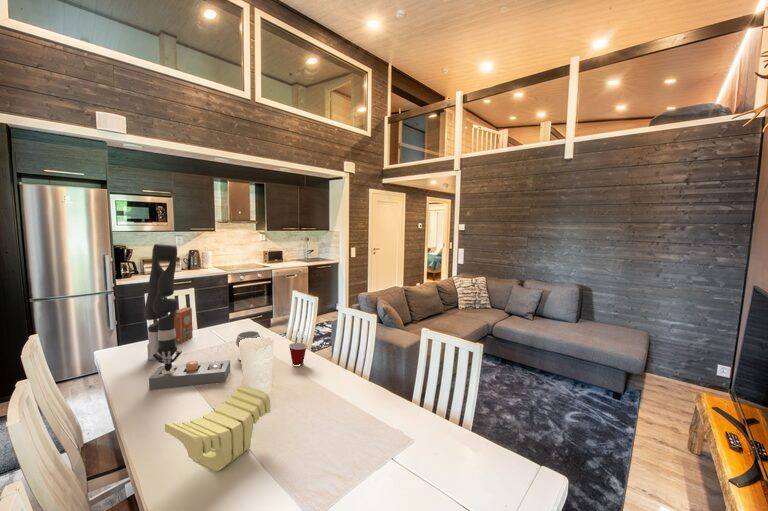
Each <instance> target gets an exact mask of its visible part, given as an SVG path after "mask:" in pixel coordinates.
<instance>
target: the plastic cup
mask: <svg viewBox="0 0 768 511" xmlns="http://www.w3.org/2000/svg"><path fill="white" fill-rule="evenodd" d="M288 348H289V351H290V357H291V362H292V365H293V364H294V365H299V364H302V363H303V364H304V360H305V356H306V351H307V348H308V344H306V343H304V342H292V343H290V344H288Z"/></svg>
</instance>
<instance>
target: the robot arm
mask: <svg viewBox="0 0 768 511" xmlns="http://www.w3.org/2000/svg"><path fill="white" fill-rule="evenodd" d="M177 258H178V247H177V245H176V244H169V243H155V244H154V245H153V247H152V254H151V269H150V275H149V280H148V288H147V295H146V301H145V305H144V309H143V316H144V318H145V320H147V321H154V320H156V321H155V322H154V323H151V324H150V325H148V327H147V334H148V336H147V337H148V343H147V360H148V361H157V362H159V364H164V365H165V370H166V371H169V370H170V369H171V368H172V365H173V364H172V363H174V362H175V361H176V360H177V359H178V358H179V357H180V355H181V354H182V352H183V351H182V350H179V349H178V347H177V343H176V332H175V314H176V311H177V310H178V307H179V301H178V300H177V299H176V298H174V297H173V298H172V297H171V298H168V297H170V296H173V294H174V292H175V274H176V273H175V272H176V268H177V267H176V266H177ZM161 261H162V262H163V261H164V262H169V264H168V266H167V267H166V269H165V270H164V269H163V268H162V266H161V263H160V262H161ZM168 313H169V314H168ZM173 356H174V357H173ZM164 365H163V366H164Z"/></svg>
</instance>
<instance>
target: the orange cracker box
mask: <svg viewBox="0 0 768 511" xmlns="http://www.w3.org/2000/svg"><path fill="white" fill-rule="evenodd" d="M175 332H176V344H183V343H185V342H186V341H188V340H189V339H191V338H193V335H194V334H193V309H192V307H182V308H180V309H177V311H176V314H175Z"/></svg>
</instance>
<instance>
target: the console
mask: <svg viewBox="0 0 768 511" xmlns="http://www.w3.org/2000/svg"><path fill="white" fill-rule="evenodd" d="M213 364H221V369H214V370H209V366H210V365H213ZM172 368H174V369H175V372H174V373H168V374H162V370H163V369H165V365H159V367H157V369H155V371H154V372H153V373H152V374H151V376H149V377H148V390H149V391H157V390H166V389H176V388H177V389H178V388H185V387H196V386H197V387H198V386H207V384H208V385H217V384H216V383H218V384H225V383H226V382H227V380H226V379H228V377H229V375H230V372H231V360H230V359H229V360H228V359H227V360H225V359H224V360H217V361H216V360H215V361H204V362H203V361H202V362H198V371H191V372H186V363H180V364H176V363H175V364H172ZM228 374H229V375H228Z"/></svg>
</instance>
